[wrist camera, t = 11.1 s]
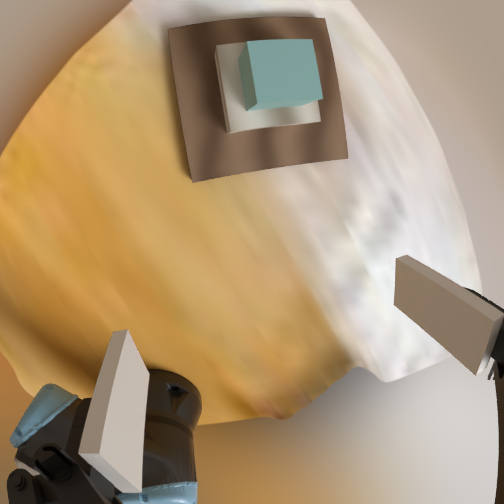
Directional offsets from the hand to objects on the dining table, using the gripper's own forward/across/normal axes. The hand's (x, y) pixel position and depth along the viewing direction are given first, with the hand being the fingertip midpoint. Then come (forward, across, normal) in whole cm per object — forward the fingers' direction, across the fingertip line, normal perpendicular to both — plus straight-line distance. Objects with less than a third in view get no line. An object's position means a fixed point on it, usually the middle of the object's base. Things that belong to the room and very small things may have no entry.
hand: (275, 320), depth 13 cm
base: (+25, -8, -14) cm, 30 cm away
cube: (+20, -8, -14) cm, 25 cm away
